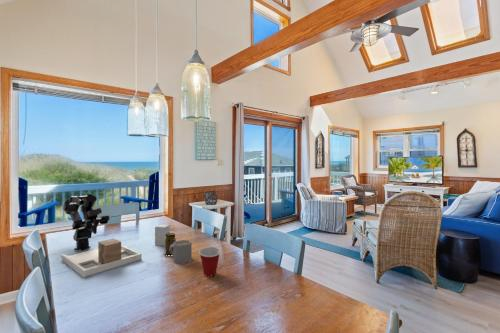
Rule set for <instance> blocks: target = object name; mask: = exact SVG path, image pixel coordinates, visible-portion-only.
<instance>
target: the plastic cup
mask: <svg viewBox="0 0 500 333" xmlns="http://www.w3.org/2000/svg"><path fill="white" fill-rule="evenodd" d="M221 250H222V249H220V248H219V247H216V246H206V247H203V248H201V249H200V250H198V254H199V256H200V260H201V265H202V270H203V275H206V276H211V275H214V274H215V275H216V274H217V269H218V264H219V258H220V254H221V253H222V251H221ZM215 275H214V276H215ZM206 276H205V277H206Z"/></svg>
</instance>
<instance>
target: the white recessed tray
mask: <svg viewBox="0 0 500 333" xmlns="http://www.w3.org/2000/svg"><path fill="white" fill-rule="evenodd" d="M141 260H142V253H140V252H139V251H137V250H135V249H131V248H130V247H127V246H125V245H124V244H121V259H119V260H116V261H113V262H109V263H106V264H101V263H99V259H98V248H95V249H90V250H88V251H83V252H79V253H75V254H70V255H67V254H66V253H62V254H61V261H62V262H63V263H64V264H66V265H67V266H68V267H69V268H70V269H72V270H74V271H75V272H76V273H77V274H79V275H80V276H81V277H82V278H88V277H91V276H94V275H98V274H100V273H103V272H107V271H110V270H113V269H116V268H119V267H123V266H125V265H130V264H133V263H135V262H138V261H141Z"/></svg>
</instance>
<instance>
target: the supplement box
mask: <svg viewBox="0 0 500 333" xmlns="http://www.w3.org/2000/svg"><path fill="white" fill-rule="evenodd" d="M168 233H171V225H170V224H159V225H157V226H155V227H154V246H156V247H157V246H159V247H165V239H166V234H168Z"/></svg>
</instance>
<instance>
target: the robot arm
mask: <svg viewBox="0 0 500 333" xmlns="http://www.w3.org/2000/svg"><path fill="white" fill-rule="evenodd" d="M97 198H98V197H97V196H95V195H94V194H91V193H88V194H87V195H71V196H69V197H68V199H67V200H66V201H65V202H64V203H63V205H62V206H63V209H62V210H63V212H65V214H67V215H68V216H70V218H71V220H72V225H71V227H72V230H75V231H74V233H73V236H72V237H73V241H75V243H76V244H75V245H76V247H75V248H74V250H75V251H84V250H87V249H89V248H91V246H90V242H89V239H92V233H93V234H94V235H97V230H98V226H99V224H100V225H106V224H108V222H109V220H110V215H101V216H100V218H98V217H99V216H98V215H100V214H102V212H103V211H102V208H101V207H98V208H96V209H94V207H95V204H96V201H97ZM79 210H80V212H81V213H82V217H81V215H80V213H79ZM83 219H84V220H83Z"/></svg>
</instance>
